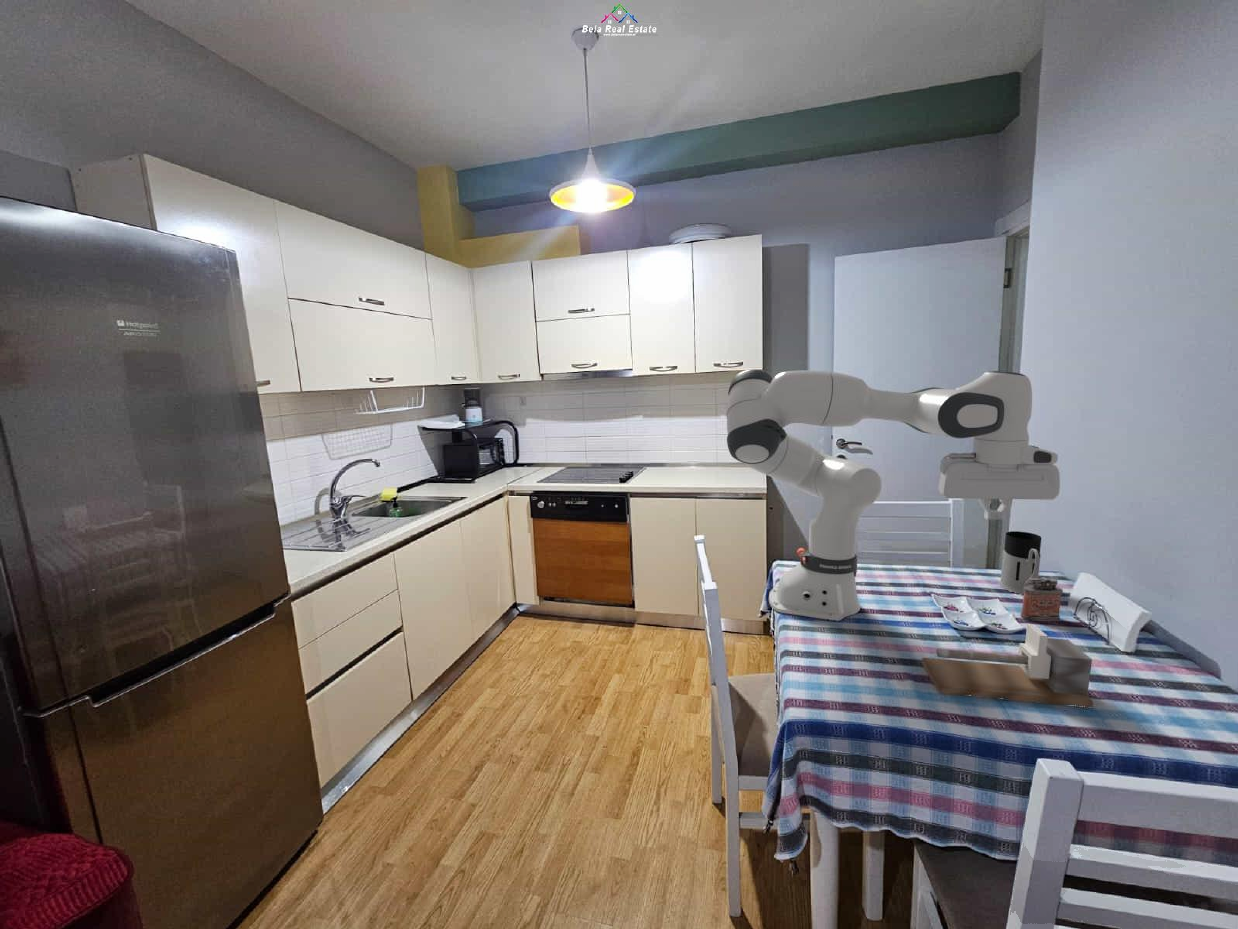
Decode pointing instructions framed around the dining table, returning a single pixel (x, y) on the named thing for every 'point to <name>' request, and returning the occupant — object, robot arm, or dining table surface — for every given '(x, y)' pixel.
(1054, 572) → the dining table surface
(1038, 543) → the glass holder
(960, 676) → the rod board
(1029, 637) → the white stepped block
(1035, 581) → the lighter
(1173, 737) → the dining table surface
